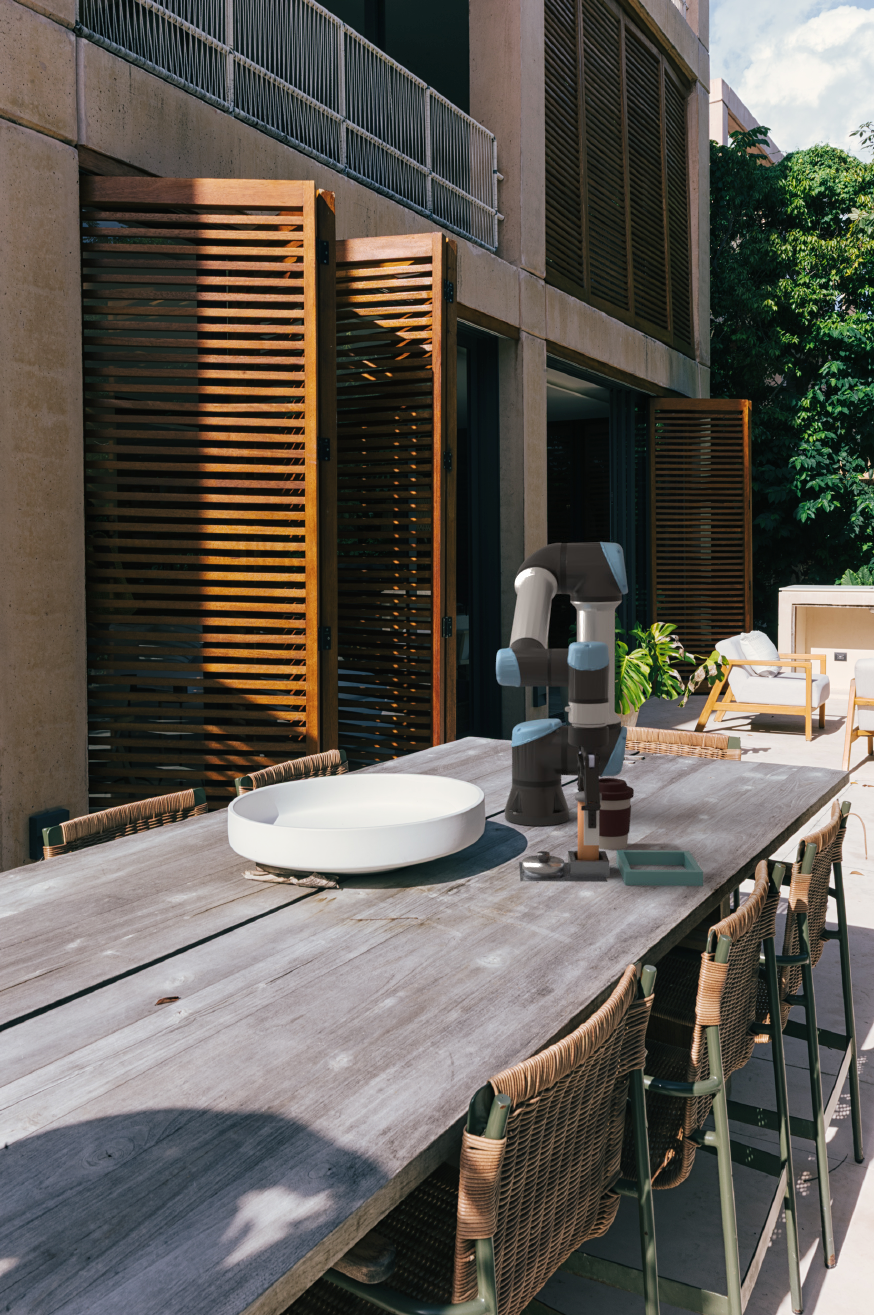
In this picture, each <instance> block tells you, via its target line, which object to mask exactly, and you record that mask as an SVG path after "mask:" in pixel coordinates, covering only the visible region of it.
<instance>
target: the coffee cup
mask: <svg viewBox="0 0 874 1315" xmlns="http://www.w3.org/2000/svg"><path fill="white" fill-rule="evenodd" d="M599 791H600V793H601V794H602V800H601V801H600V805H601V807H600V809H599V850H605V851H606V850H607V851H608V850H609V851H615V850H624V849H625V848H627V847H628V842H629V841H628V840H629V834H630V827H631V826H630V825H631V815H632V814H631V812H632V804H631V800H632V798H633V797H634V795H635V793H634V791H635V790H634V787H631V786H629V785H628V784H627V781H625V780H624V779H622V778H616V777H615V778H614V777H599Z"/></svg>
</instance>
